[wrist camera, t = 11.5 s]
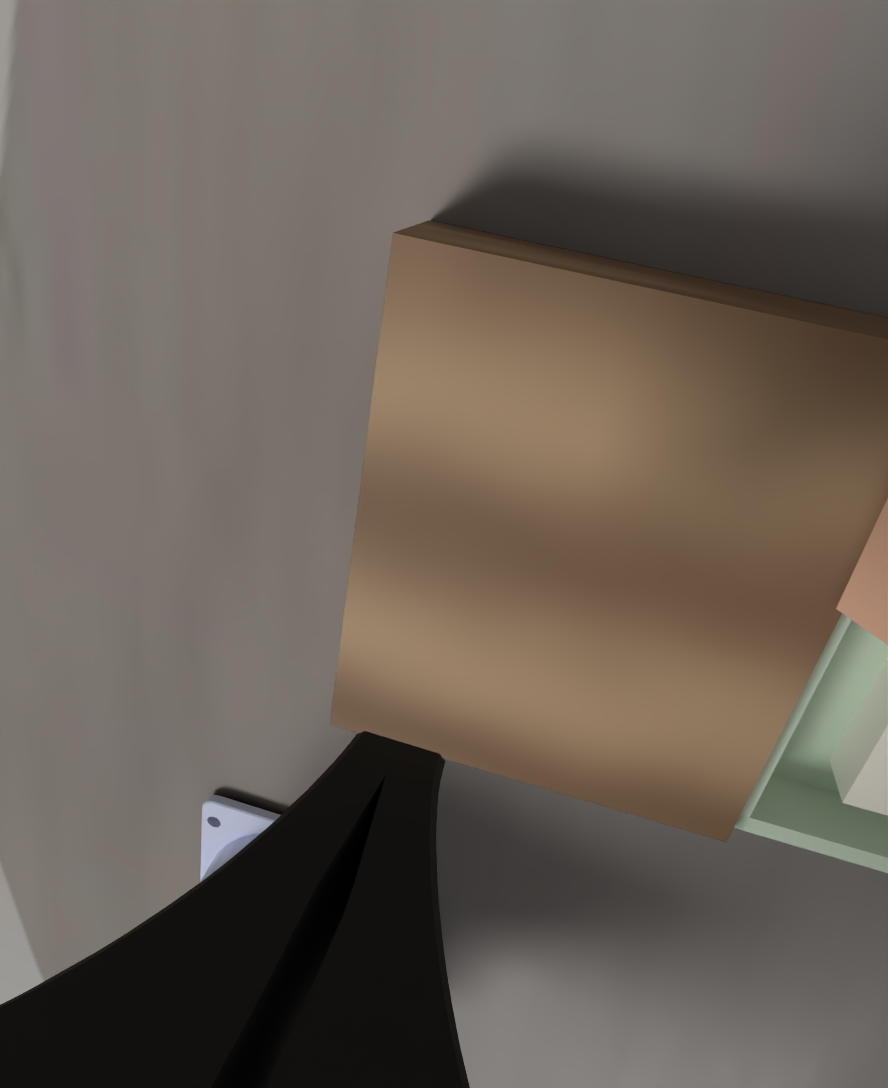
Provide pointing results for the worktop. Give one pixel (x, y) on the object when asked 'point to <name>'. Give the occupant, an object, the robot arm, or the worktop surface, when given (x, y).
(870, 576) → the terracotta tile
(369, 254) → the worktop surface
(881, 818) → the tray
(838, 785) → the cream tile
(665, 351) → the walnut board
